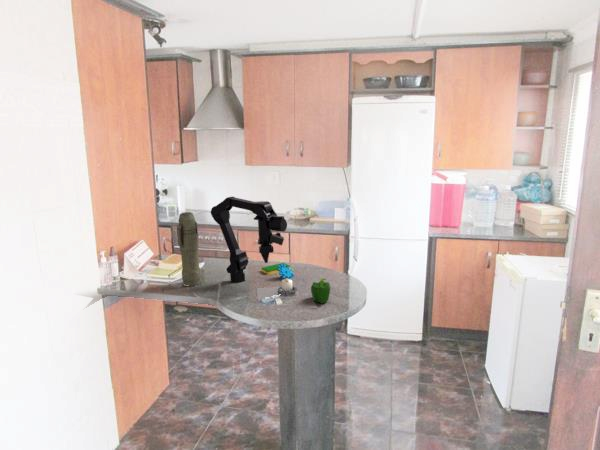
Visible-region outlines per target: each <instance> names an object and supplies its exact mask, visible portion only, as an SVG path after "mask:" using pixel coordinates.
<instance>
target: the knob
mask: <svg viewBox="0 0 600 450" xmlns="http://www.w3.org/2000/svg"><path fill="white" fill-rule="evenodd" d="M281 286H282V291H283V292H290V291H293V287H292V286H293V280H292V278H291V279H290V278H289V279H287V277H285V278H284V279H282V280H281Z"/></svg>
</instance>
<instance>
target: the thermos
mask: <svg viewBox="0 0 600 450" xmlns="http://www.w3.org/2000/svg"><path fill="white" fill-rule="evenodd" d="M194 215H195V214H194V213H193V212H191V211H190V212H189V211H188V212H187V211H185V212H181V213H180V214H179V217H178V224H177V227H176V233H177V244H178V246H179V251H180V255H181V265H182V269H181V279H182V284H183V283H184V284H185V285H189V286H192V287H196V286H195V285H197V286H199V284H200V285H201V284H202V280H201V279H202V273H201V270H202V269H201V268H200V259H199V228H198V227H199V226H198V222H197V221H196V218H195V216H194Z"/></svg>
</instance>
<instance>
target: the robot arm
mask: <svg viewBox="0 0 600 450" xmlns="http://www.w3.org/2000/svg"><path fill="white" fill-rule="evenodd" d="M232 208H238V209H241V210H246V211H250V212H252V214H254V215H256V216H255V217H253V220H254V221H257V227H258V228H257V229H258V239H257V244H258V245H259V246H258V252H259V254H260V256H261V257H262V259H263V262H264V264H268V261H269V256H270V254H271V253H274V252H275V251H274V246H273V244H277V245H279V246H283V243H284V241H285V238H284V236H282V235H281V232H283V233H284V232H286V230H287V228H288V223H287V220H286V219H285V215H278V214H277V212H276V211H275V209H274V208H273V206H272V203H271V202H270V201H264V200H263V201H252V200H250V199H249V200H247V199H243V198H240V197H235V196H228V197H226V198H225V199H224V200H223V201H221V202H220V203H218V204H217V205H215V206H212V208H211V210H210V215H211V217H212V219H213V220H214V221H215V223H216V224H217V225H219V227H220V231H221V233H222V235H223V239H224V240H225V244H226V246H227V248H228V251H229V263H230V264H229V265H228V267H226V272H227V273H228V274H229V275H230V277H229V279H230V283H233V284H240V283H244V282H246V273H245V272H244V270H246V269H247V266H248V264H249V259H250V258H249V257H248V255H247V251H246V250H245V251H242V250H241V248H240V246H239V243H238V240H237V238H236V235H235V233H234V230H233V228H232V225H231V222H230V218H231V214H230V211H231V210H232ZM273 232H276V233H273Z"/></svg>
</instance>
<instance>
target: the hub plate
mask: <svg viewBox="0 0 600 450" xmlns="http://www.w3.org/2000/svg"><path fill="white" fill-rule="evenodd" d="M292 287H293V291H290V292H283V291H282V285H281V286H269V287H257V288H256V294H257V295H256V297H257V301H259V300H260V301H261V300H262V301H263V300H264V299H263V298H265V297H271V296H273V295H279V294H281V295H280V296H279V297H277V298H272V299H287V298H288V299H289V298H298V297H300V294H299V292H298V288H297V286H296V285H292ZM272 299H271V300H272Z"/></svg>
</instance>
